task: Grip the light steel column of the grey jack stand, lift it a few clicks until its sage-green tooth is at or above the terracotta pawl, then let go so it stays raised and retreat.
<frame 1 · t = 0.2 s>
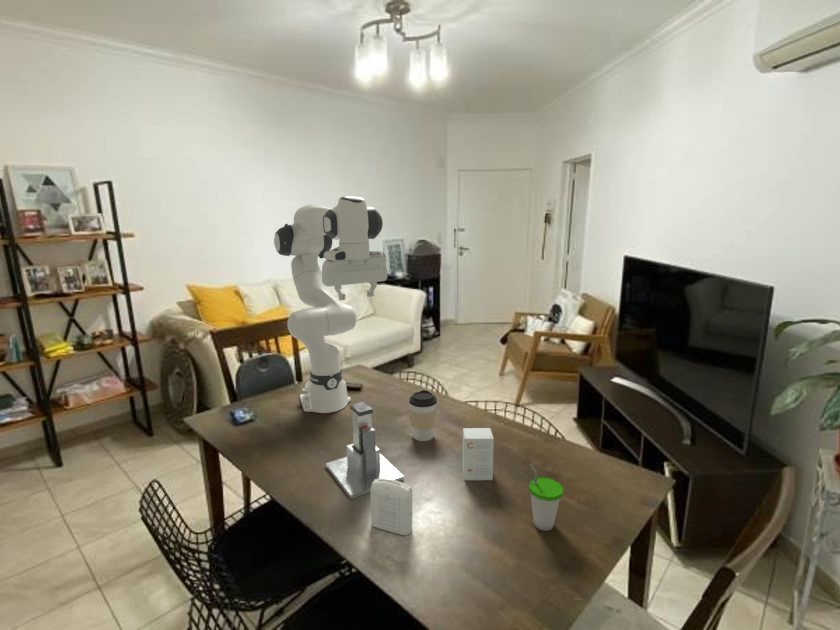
hand: (356, 298, 137), 48 cm above the table, fingers open, 8 cm apart
stand base: (363, 473, 130), on the table
column: (362, 438, 127), point 11 cm above the table, slide at 0.0 cm
cup: (543, 525, 108), on the table
coffee cup: (423, 436, 151), on the table
photo printer: (392, 527, 108), on the table
small box: (477, 475, 129), on the table
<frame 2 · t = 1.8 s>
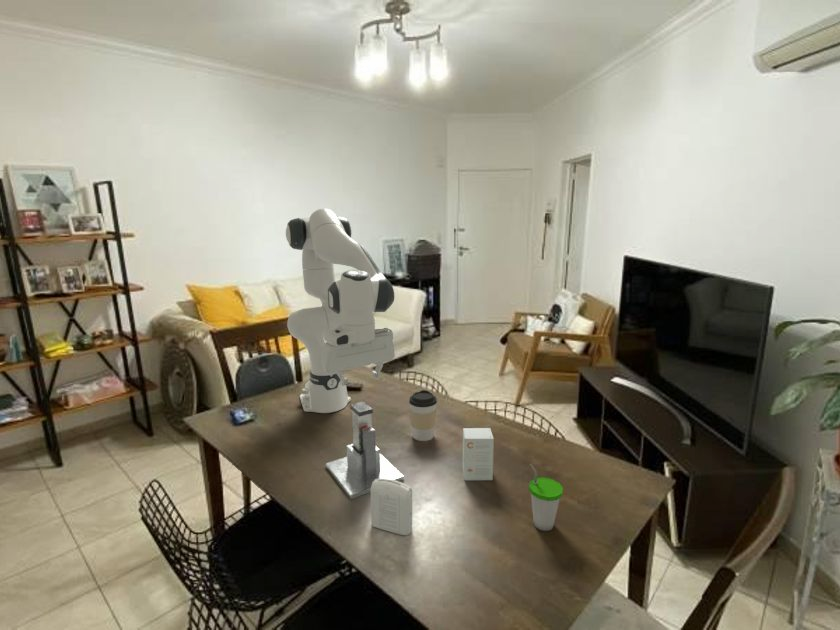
hand: (360, 381, 123), 28 cm above the table, fingers open, 8 cm apart
nothing on the table moved.
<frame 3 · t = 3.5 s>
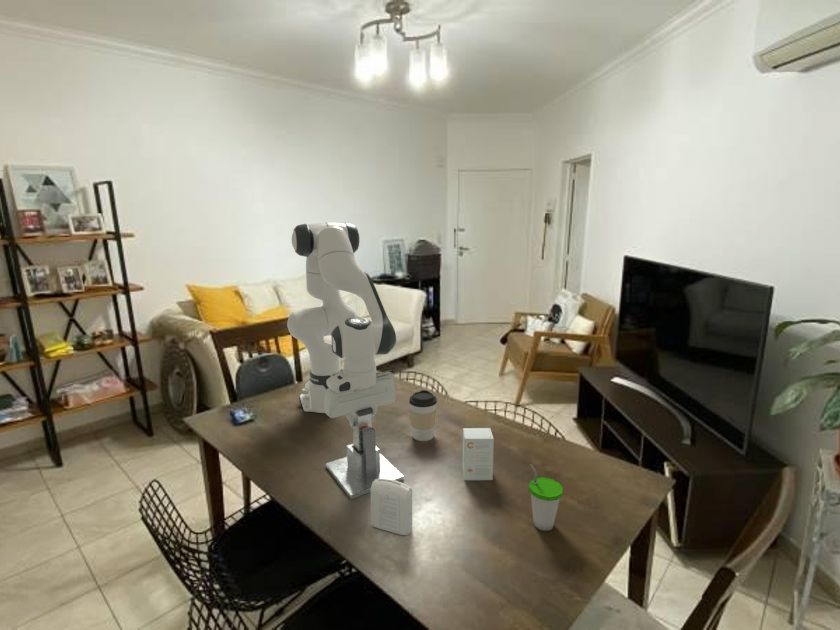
hand: (361, 423, 126), 16 cm above the table, fingers closed on column, 4 cm apart
column: (362, 438, 127), point 11 cm above the table, slide at 0.0 cm, touching gripper
everything else where it was.
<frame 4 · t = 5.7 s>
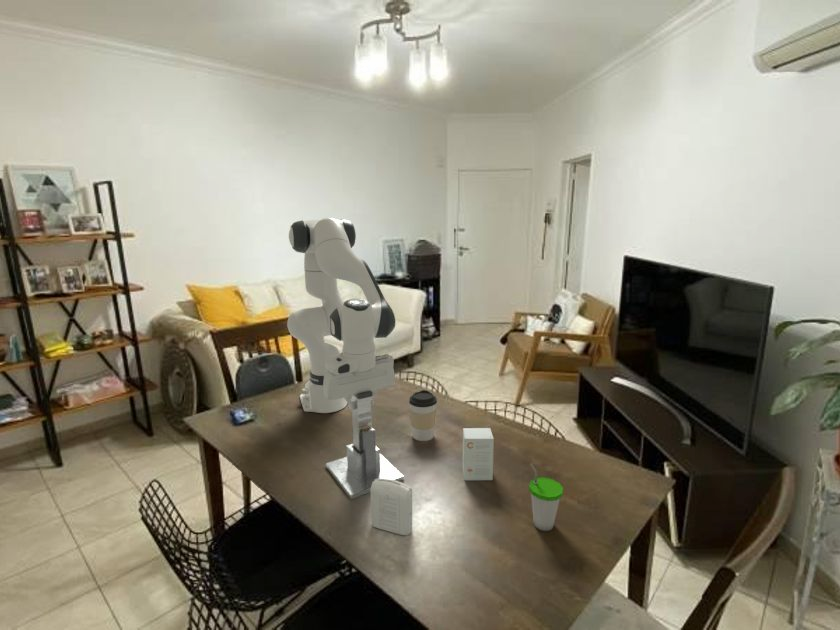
hand: (361, 407, 125), 21 cm above the table, fingers closed on column, 4 cm apart
column: (361, 422, 126), point 16 cm above the table, slide at 5.0 cm, touching gripper
everything else where it was.
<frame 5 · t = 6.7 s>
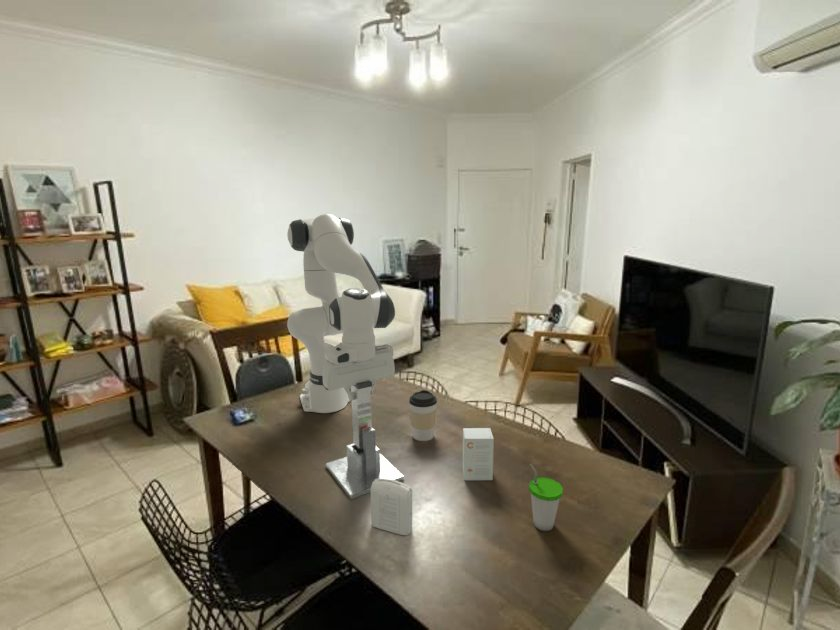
hand: (360, 397, 124), 23 cm above the table, fingers closed on column, 4 cm apart
column: (361, 412, 125), point 19 cm above the table, slide at 7.9 cm, touching gripper
everything else where it was.
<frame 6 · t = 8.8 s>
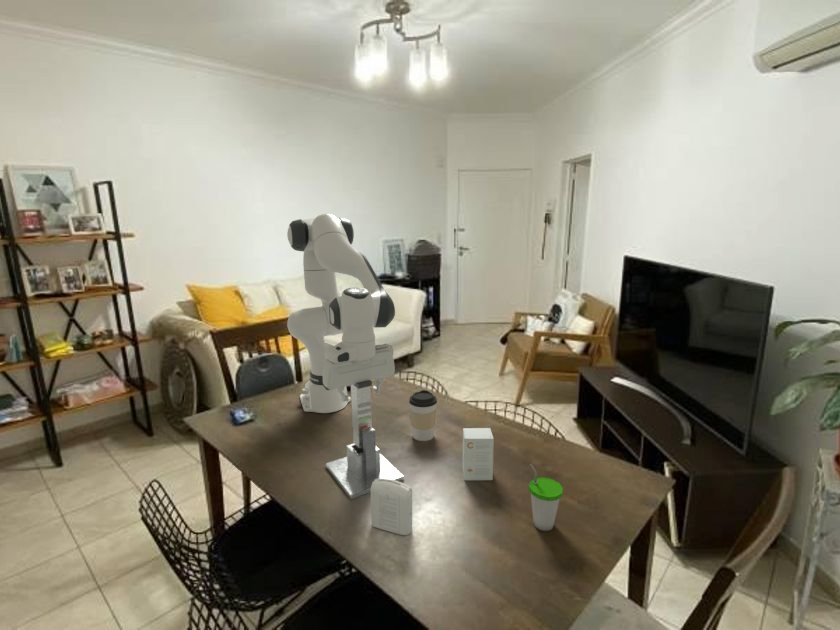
hand: (360, 396, 124), 24 cm above the table, fingers open, 8 cm apart
column: (361, 411, 125), point 19 cm above the table, slide at 8.0 cm
everything else where it was.
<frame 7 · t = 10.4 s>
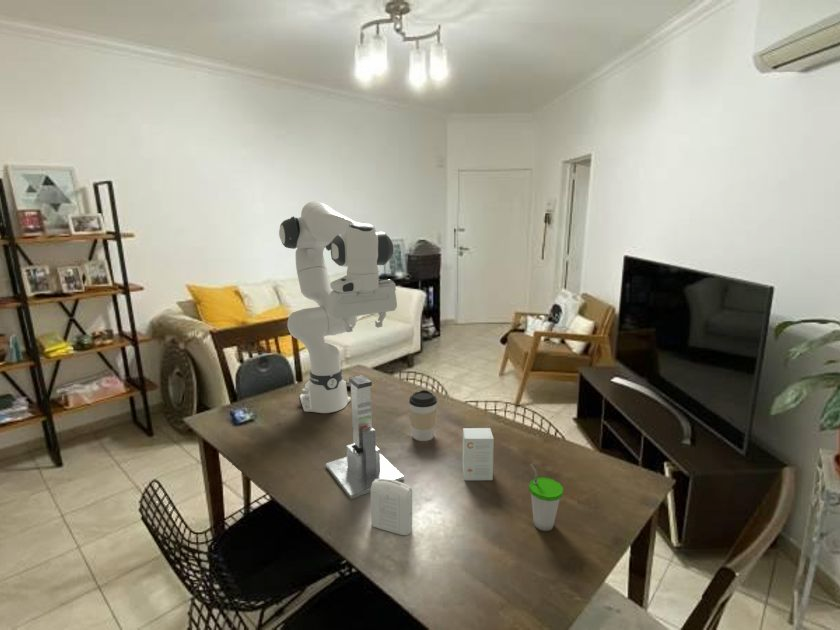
hand: (364, 329, 130), 40 cm above the table, fingers open, 8 cm apart
nothing on the table moved.
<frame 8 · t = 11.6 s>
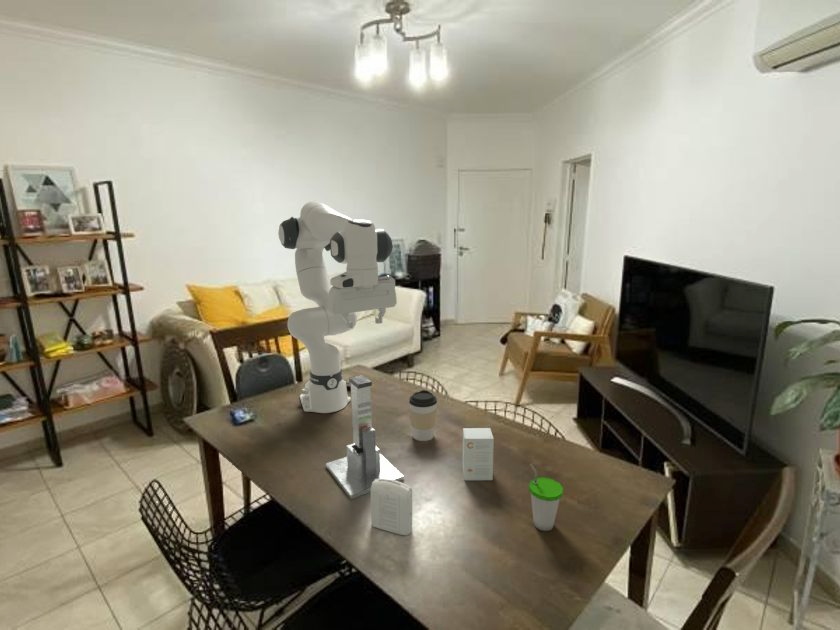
hand: (364, 325, 131), 41 cm above the table, fingers open, 8 cm apart
nothing on the table moved.
at the end: column slide at 8.0 cm; the gripper is holding nothing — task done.
